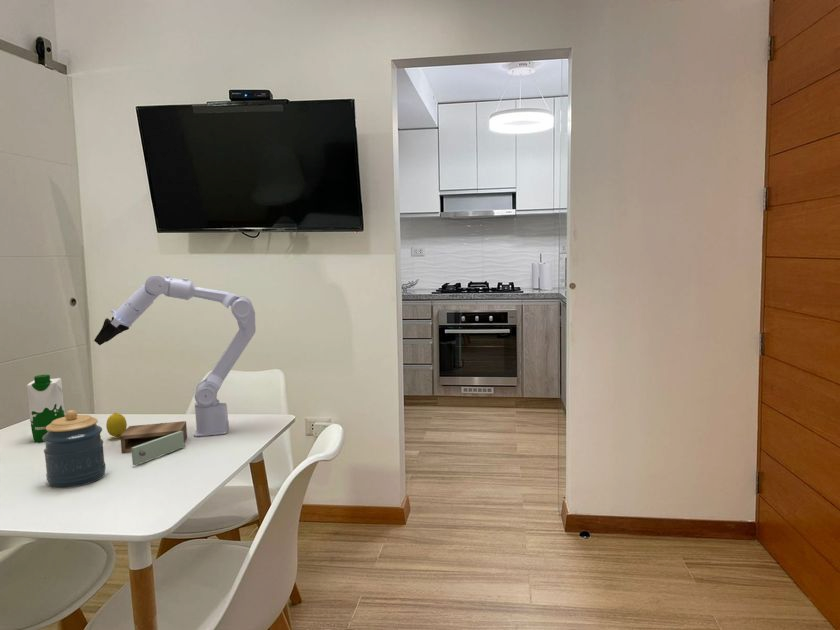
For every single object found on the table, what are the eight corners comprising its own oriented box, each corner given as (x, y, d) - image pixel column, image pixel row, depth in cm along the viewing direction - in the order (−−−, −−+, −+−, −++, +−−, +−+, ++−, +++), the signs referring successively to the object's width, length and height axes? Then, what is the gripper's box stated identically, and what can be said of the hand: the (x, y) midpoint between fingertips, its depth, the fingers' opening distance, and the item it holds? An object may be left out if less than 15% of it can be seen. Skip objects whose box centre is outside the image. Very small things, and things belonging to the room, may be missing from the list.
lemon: (131, 435, 187) (129, 410, 186) (120, 441, 182) (118, 415, 181) (114, 435, 188) (112, 410, 187) (103, 441, 182) (101, 415, 181)
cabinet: (187, 437, 183) (186, 421, 183) (181, 447, 174) (180, 430, 173) (130, 442, 180) (129, 426, 179) (121, 453, 170) (120, 435, 170)
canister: (112, 478, 151) (106, 409, 149) (52, 493, 142) (45, 420, 140) (99, 465, 161) (93, 400, 159) (42, 479, 152) (35, 410, 150)
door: (181, 446, 173) (180, 430, 173) (186, 447, 172) (185, 431, 172) (132, 464, 159) (131, 447, 159) (137, 465, 158) (136, 448, 158)
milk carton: (29, 444, 181) (22, 378, 179) (38, 435, 190) (31, 373, 188) (62, 440, 184) (56, 376, 182) (69, 432, 193) (63, 370, 190)
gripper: (128, 297, 184) (95, 329, 182) (117, 299, 170) (82, 334, 168) (146, 312, 186) (114, 345, 184) (138, 316, 172) (103, 351, 170)
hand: (100, 341), depth 176 cm, fingers open, 7 cm apart
